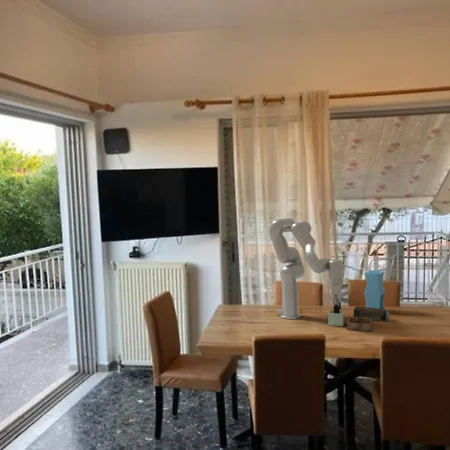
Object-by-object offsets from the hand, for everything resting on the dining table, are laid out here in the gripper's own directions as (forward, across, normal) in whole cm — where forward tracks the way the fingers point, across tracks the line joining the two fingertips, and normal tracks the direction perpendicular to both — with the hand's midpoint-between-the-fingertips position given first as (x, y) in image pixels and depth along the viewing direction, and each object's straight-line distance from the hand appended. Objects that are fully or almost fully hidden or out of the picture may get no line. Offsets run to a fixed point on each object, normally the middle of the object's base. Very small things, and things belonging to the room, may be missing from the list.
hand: (337, 311), depth 256 cm
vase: (+8, -34, +20) cm, 41 cm away
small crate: (+8, 0, -1) cm, 8 cm away
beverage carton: (+9, -16, +18) cm, 26 cm away
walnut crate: (+8, +2, +12) cm, 14 cm away
